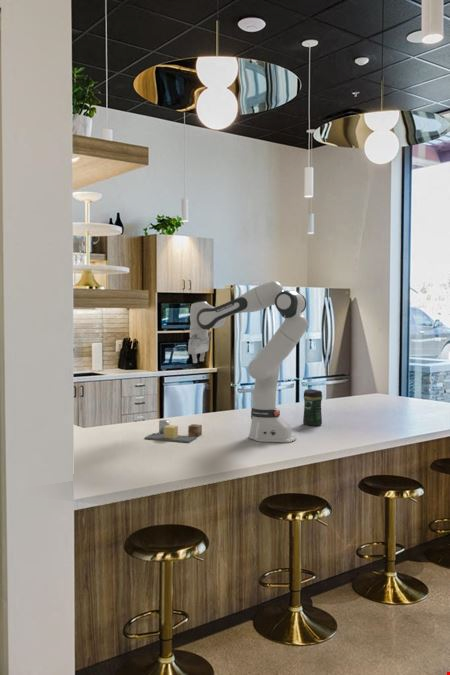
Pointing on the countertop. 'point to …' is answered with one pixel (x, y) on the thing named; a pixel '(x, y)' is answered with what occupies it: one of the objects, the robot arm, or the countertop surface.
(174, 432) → the mustard block
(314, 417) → the coffee jar
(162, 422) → the metal canister
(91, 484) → the countertop surface
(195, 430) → the walnut block
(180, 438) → the rubber mat
